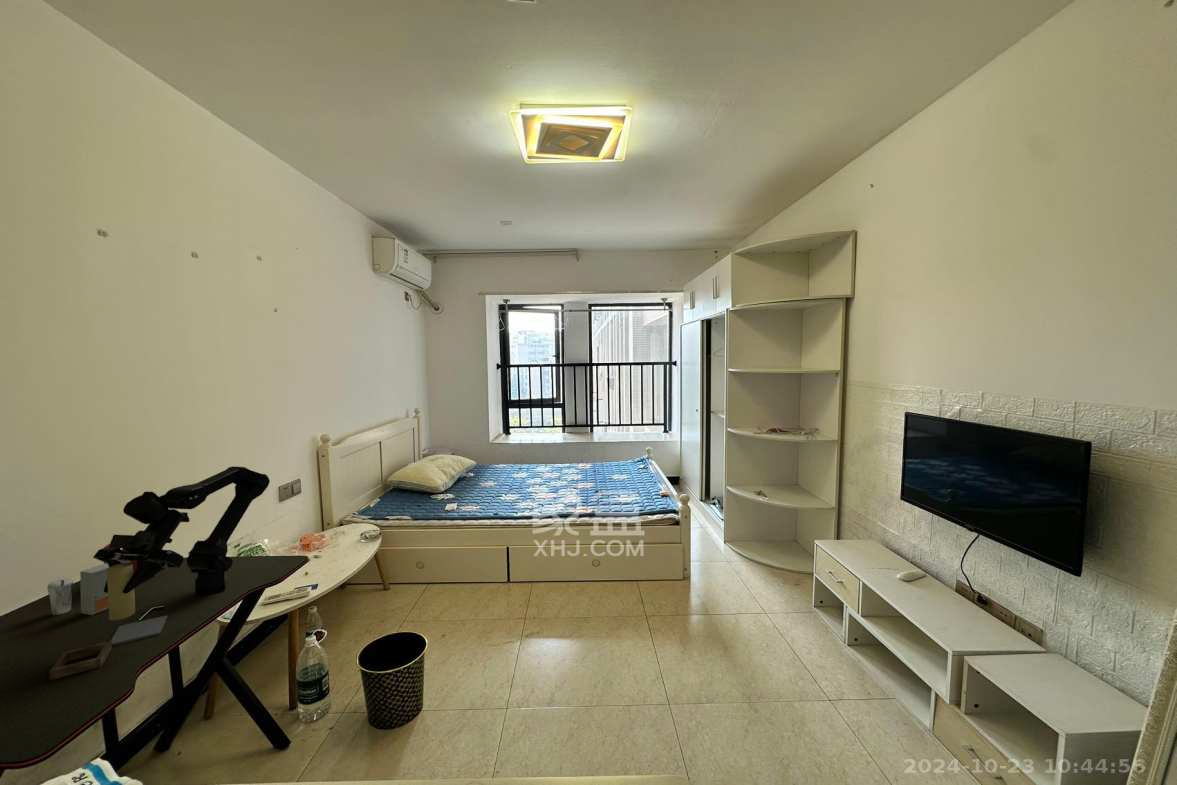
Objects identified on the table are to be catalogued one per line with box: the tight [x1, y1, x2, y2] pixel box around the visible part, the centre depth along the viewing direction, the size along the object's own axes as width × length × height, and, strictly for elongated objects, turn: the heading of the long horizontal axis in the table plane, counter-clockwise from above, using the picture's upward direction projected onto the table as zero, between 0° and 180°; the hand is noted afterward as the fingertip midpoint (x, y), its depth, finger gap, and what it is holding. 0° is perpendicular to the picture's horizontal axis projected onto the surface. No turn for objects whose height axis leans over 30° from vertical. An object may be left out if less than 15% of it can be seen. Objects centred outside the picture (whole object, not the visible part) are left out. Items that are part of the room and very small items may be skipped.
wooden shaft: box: [107, 563, 136, 621], centre depth 106 cm, size 4×4×12 cm
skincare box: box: [79, 563, 109, 616], centre depth 120 cm, size 6×4×12 cm
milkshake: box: [46, 577, 74, 616], centre depth 118 cm, size 4×5×10 cm
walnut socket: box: [48, 640, 113, 681], centre depth 98 cm, size 8×8×2 cm
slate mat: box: [110, 615, 168, 647], centre depth 111 cm, size 9×9×1 cm
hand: (115, 592), depth 105 cm, fingers closed on wooden shaft, 4 cm apart
